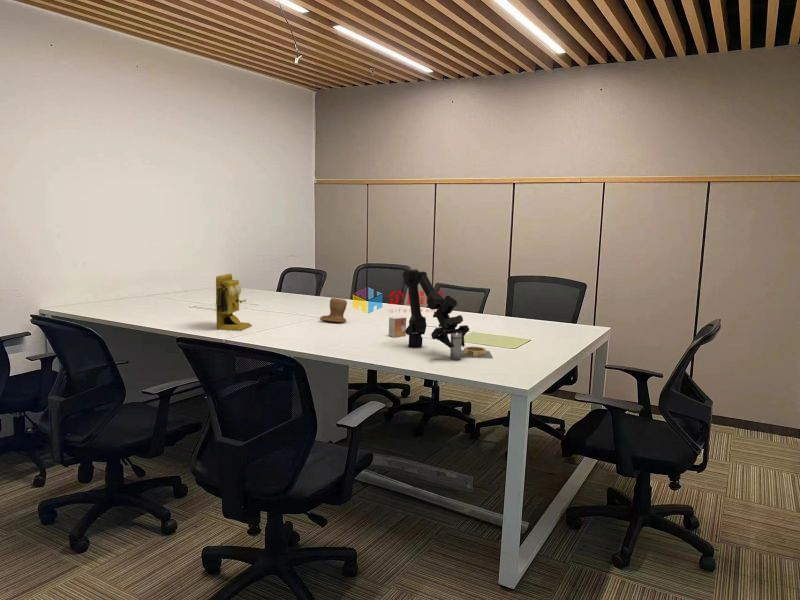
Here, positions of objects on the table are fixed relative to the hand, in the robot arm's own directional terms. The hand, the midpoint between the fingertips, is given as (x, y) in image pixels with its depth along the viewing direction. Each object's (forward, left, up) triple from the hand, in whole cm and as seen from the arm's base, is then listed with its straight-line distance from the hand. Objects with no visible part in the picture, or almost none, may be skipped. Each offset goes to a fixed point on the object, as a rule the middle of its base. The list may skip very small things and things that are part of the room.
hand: (457, 347), depth 273 cm
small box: (-30, +54, -7) cm, 62 cm away
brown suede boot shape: (-70, +92, -7) cm, 116 cm away
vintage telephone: (-123, +61, -7) cm, 137 cm away
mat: (+9, +13, -7) cm, 17 cm away
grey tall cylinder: (-1, +1, -7) cm, 7 cm away
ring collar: (+9, +13, -6) cm, 17 cm away
